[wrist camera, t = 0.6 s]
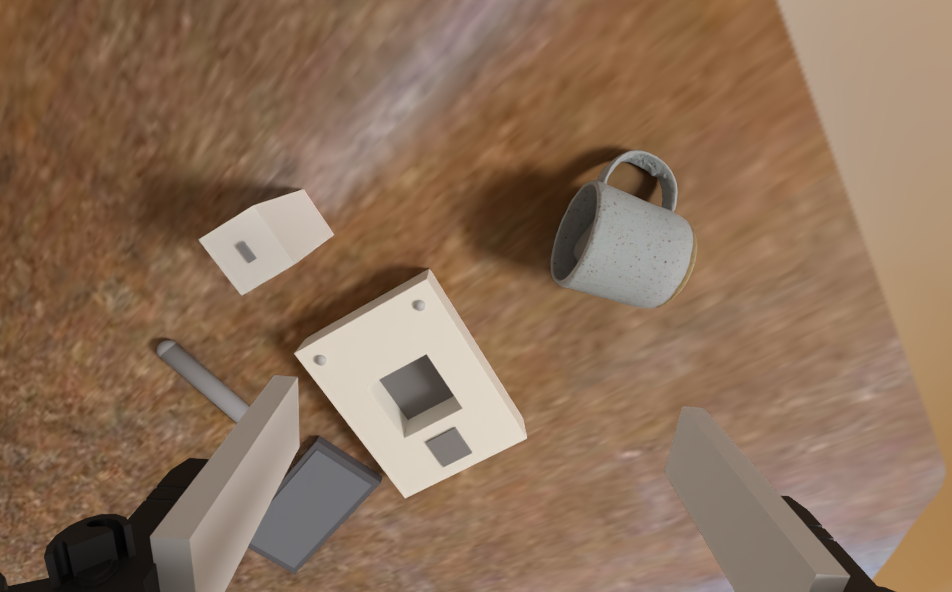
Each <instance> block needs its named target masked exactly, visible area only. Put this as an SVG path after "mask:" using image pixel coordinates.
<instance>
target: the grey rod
mask: <svg viewBox="0 0 952 592" xmlns="http://www.w3.org/2000/svg"><path fill="white" fill-rule="evenodd" d="M157 354H158V356H159V357H160V358H162V359H163V360H164V361H165V362H166V363H167V364H169V365H170V366H171V367H172V368H173V369H174V370H176V371H177V372H178V373H179V374H180V375H181V376H183V377H184V378H185V379H186V380H187V381H188V382H190V383H191V384H192V385H193V386H194V387H195V388H197V389H198V390H199V391H200V392H201V393H202V394H204V395H205V396H206V397H207V398H208V399H209V400H211V401H212V402H213V403H214V404H215V405H216V406H218V407H219V408H220V409H221V410H222V411H223V412H225V413H226V414H227V415H228V416H229V417H230V418H232V419H233V420H234V421H235V422H236V423H238V422H239V420H240V419H241V418H242V417H243V415H244V414H245V413H246V411H247V410H248V409H249V406H248V405H247V404H246V403H245V402H244V401H243V400H241V399H240V398H239V397H238V396H237V395H236V394H235V393H233V392H232V391H231V390H230V389H229V388H228V387H227V386H225V385H224V384H223V383H222V382H221V381H220V380H219V379H218V378H216V377H215V376H214V375H213V374H212V373H211V372H210V371H208V370H207V369H206V368H205V367H204V366H203V365H202V364H200V363H199V362H198V361H197V360H196V359H195V358H194V357H192V356H191V355H190V354H189V353H188V352H187V351H186V350H184V349H183V348H182V347H181V346H180V345H179V344H178V343H176V342H175V341H172V340H165V341H163V342H161V343H160V344H159V345H158V347H157Z"/></svg>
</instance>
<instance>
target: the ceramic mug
mask: <svg viewBox="0 0 952 592" xmlns="http://www.w3.org/2000/svg"><path fill="white" fill-rule="evenodd" d="M620 162H630V163H632V164H635V165H637V166H638V167H641V168H643V169H645V170H646V171H648V172H649V173H650V174H651V176H656V177H657V178H658V180H659V182H660V185H661V188H662V197H663V200H662V207H660V206H657V205H654V204H652V203H649V202H646V201H644V200H642V199H640V198H637V197H635V196H633V195H631V194H628V193H626V192H623V191H621V190H619V189H616V188H614V187H612V186H609V185H607V179H608V177H609V175H610V174H611V172H612V171H613V170H614V168H615V167H616V166H617V165H618V164H619V163H620ZM677 194H678V193H677V183H676V180H675V177H674V175H673V173H672V171H671V170H670V168H669V167H668V165H666V164H665V163H664V162H663V161H662V160H661V159H660V158H658V157H657V156H655V155H653V154H650V153H648V152H645V151H641V150H632V151H627V152H625V153H623V154H621V155H619V156H618V157H616V158H615V159H613V160H612V161H611V162H610V163H608V164H607V165H606V166H605V167H604V169H603V170H602V172H601V173H600V175H599V176H598V178H597V180H592V181H589V182H587V183H586V184H584V185H583V186H582V187H581V189H580V190H579V191H578V192H577V193H576V195H575V196H574V198H573V199H572V201H571V202H570V204H569V206H568V208H567V210H566V213H565V215H564V216H563V218H562V220H561V223H560V226H559V229H558V231H557V234H556V238H555V241H554V245H553V250H552V256H551V263H550V264H551V274H552V278H553V280H554V281H555V283H556V284H558V285H559V286H562V287H566V288H570V289H574V290H577V291H581V292H584V293H587V294H591V295H594V296H598V297H602V298H606V299H610V300H614V301H617V302H620V303H623V304H626V305H630V306H635V307H642V308H657V307H661V306H663V305H665V304H667V303H669V302H670V301H671V300H672V299H673V298H674V297H676V296H677V295H678V294H679V293H680V292H681V290H682V289H683V287H684V286H685V284H686V283H687V281H688V279H689V277H690V275H691V273H692V270H693V267H694V264H695V260H696V254H697V240H696V235H695V231H694V229H693V228H692V226H691V224H690V223H688V222H687V221H686V220H685V219H684V218H682V217H681V216H679V215H677V214H676V213H674V210H675V207H676V203H677Z"/></svg>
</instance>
